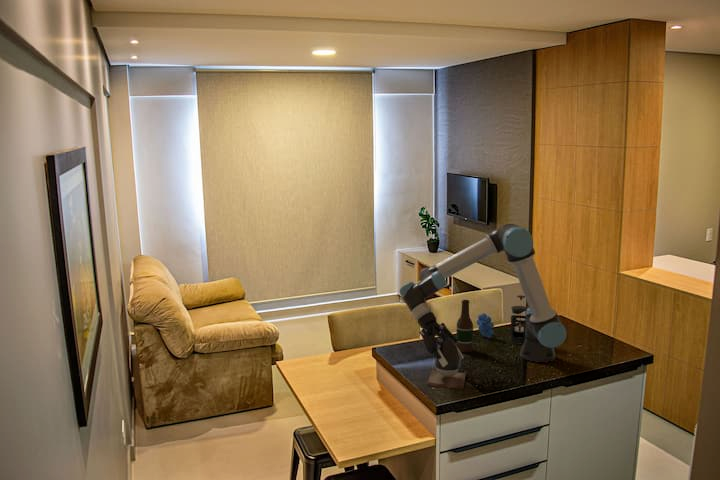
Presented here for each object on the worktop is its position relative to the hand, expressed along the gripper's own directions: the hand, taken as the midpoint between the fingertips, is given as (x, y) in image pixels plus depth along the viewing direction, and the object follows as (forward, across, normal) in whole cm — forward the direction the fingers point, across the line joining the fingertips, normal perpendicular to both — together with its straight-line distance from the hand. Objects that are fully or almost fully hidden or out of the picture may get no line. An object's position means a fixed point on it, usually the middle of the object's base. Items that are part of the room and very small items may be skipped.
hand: (453, 362), depth 244 cm
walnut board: (+4, 0, -8) cm, 9 cm away
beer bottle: (-9, -36, -21) cm, 43 cm away
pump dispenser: (+2, 0, -6) cm, 7 cm away
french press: (-2, -66, -14) cm, 68 cm away
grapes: (-13, -58, -25) cm, 65 cm away
